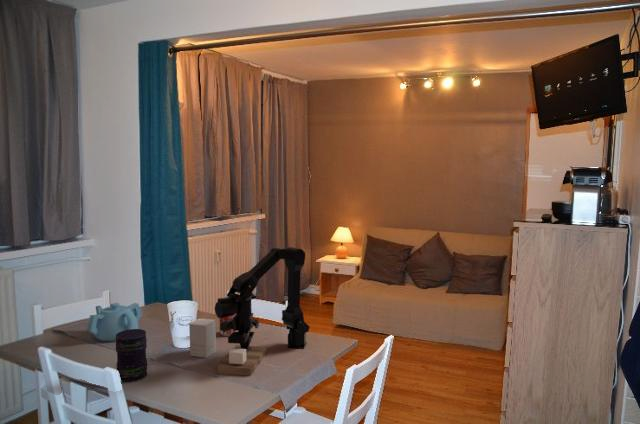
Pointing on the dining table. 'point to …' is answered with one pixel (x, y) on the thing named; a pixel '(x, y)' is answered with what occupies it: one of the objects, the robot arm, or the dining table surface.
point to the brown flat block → (249, 366)
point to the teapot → (113, 320)
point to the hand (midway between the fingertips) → (244, 353)
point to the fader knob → (237, 356)
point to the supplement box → (202, 337)
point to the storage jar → (131, 354)
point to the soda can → (228, 330)
